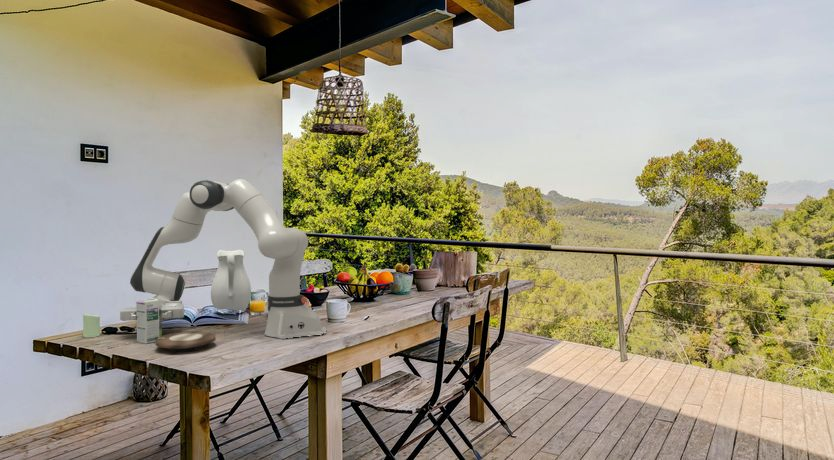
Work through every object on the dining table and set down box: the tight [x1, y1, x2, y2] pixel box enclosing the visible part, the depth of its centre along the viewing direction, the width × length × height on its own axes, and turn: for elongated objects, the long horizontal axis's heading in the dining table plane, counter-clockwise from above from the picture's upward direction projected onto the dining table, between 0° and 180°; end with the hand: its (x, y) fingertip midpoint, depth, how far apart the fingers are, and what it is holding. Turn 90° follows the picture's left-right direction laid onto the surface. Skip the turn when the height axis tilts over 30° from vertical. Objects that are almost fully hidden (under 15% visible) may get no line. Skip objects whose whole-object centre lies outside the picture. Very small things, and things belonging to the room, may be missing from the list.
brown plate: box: [154, 330, 217, 349], centre depth 166 cm, size 18×18×1 cm
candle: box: [82, 313, 101, 339], centre depth 181 cm, size 5×5×8 cm
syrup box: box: [135, 297, 163, 345], centre depth 174 cm, size 6×6×14 cm
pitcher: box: [210, 249, 252, 312], centre depth 222 cm, size 24×17×28 cm
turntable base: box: [168, 345, 204, 352], centre depth 166 cm, size 10×10×2 cm
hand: (148, 317), depth 173 cm, fingers open, 8 cm apart
